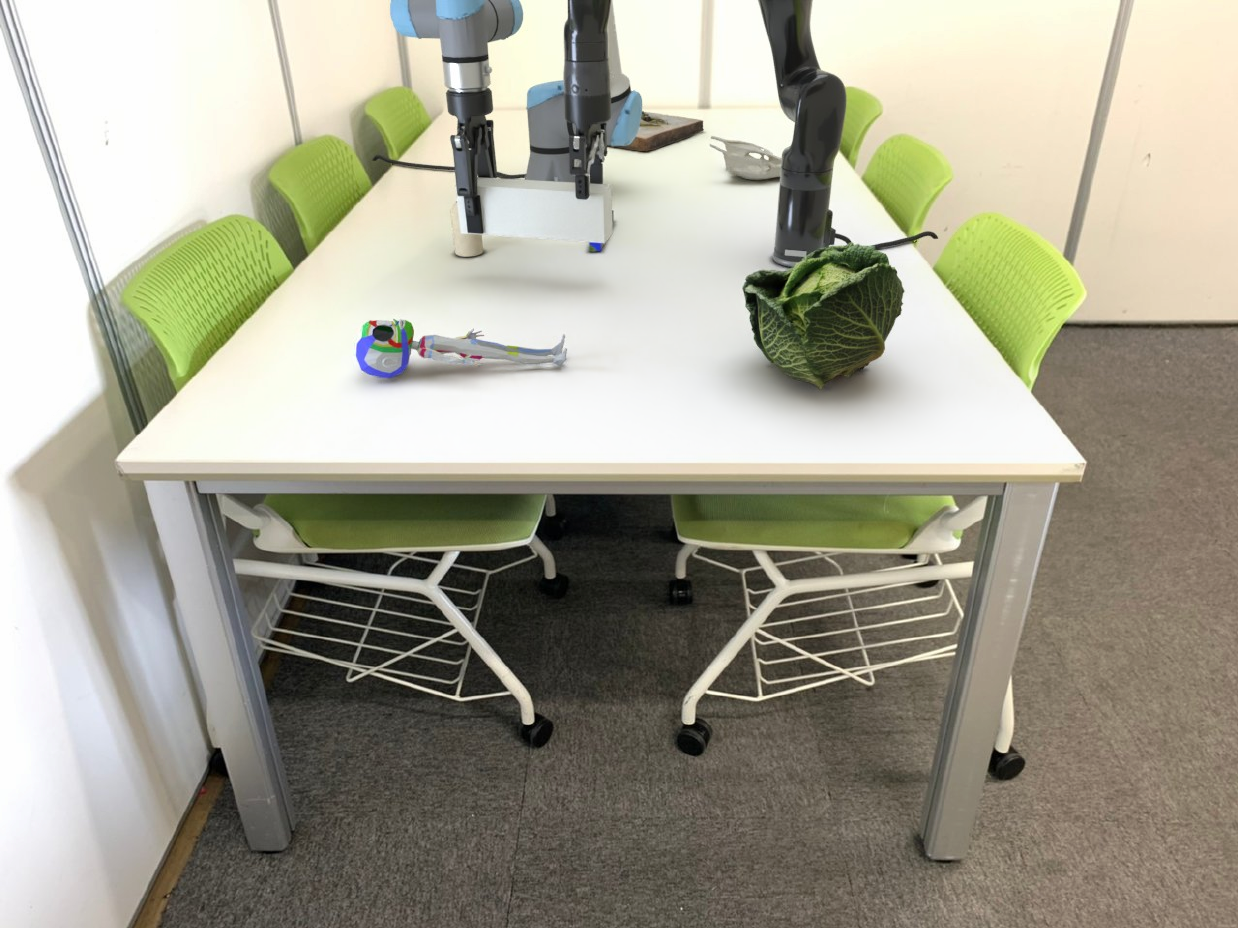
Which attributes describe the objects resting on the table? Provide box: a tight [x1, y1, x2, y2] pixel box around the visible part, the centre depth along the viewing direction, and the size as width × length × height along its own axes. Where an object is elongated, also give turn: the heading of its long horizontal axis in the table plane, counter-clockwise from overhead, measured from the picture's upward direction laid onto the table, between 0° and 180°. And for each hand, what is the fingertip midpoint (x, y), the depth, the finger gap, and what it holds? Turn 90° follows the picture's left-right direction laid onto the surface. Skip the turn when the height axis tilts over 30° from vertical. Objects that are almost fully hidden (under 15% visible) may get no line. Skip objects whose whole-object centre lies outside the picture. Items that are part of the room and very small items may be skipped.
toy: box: [353, 318, 568, 379], centre depth 130 cm, size 10×8×30 cm
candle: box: [449, 200, 484, 258], centre depth 172 cm, size 6×6×10 cm
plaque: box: [607, 110, 705, 152], centre depth 257 cm, size 30×7×30 cm
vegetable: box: [742, 241, 906, 390], centre depth 125 cm, size 20×19×20 cm
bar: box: [454, 176, 613, 244], centre depth 156 cm, size 26×5×8 cm, turn 76°
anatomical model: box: [709, 135, 782, 181], centre depth 217 cm, size 15×9×25 cm
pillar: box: [588, 209, 615, 252], centre depth 182 cm, size 2×2×20 cm
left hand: (482, 227), depth 160 cm, fingers closed on bar, 5 cm apart
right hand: (589, 192), depth 151 cm, fingers open, 8 cm apart
